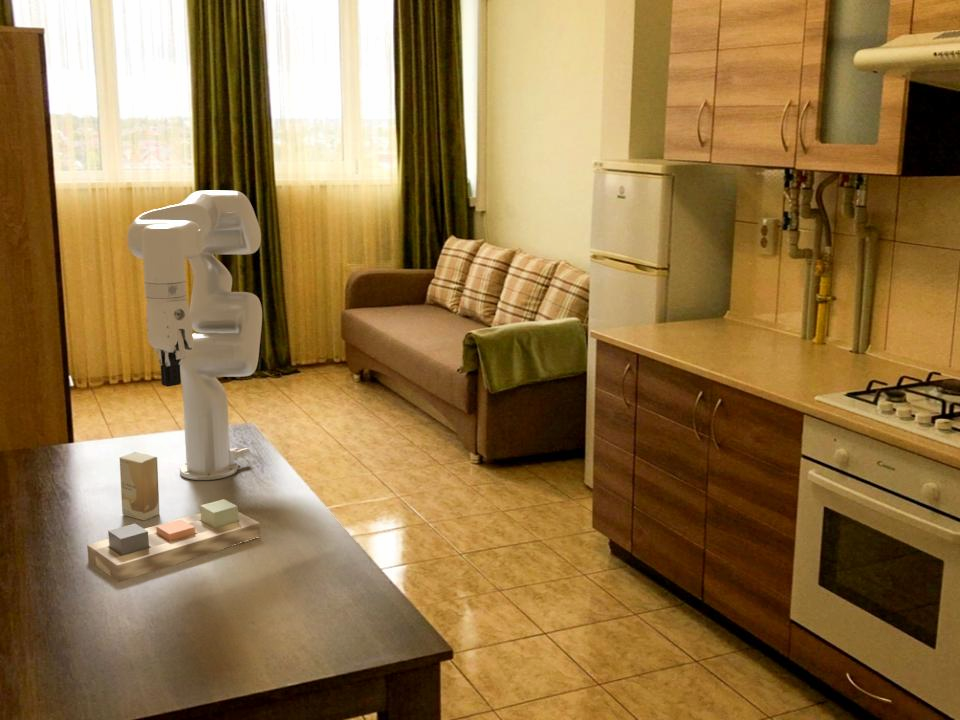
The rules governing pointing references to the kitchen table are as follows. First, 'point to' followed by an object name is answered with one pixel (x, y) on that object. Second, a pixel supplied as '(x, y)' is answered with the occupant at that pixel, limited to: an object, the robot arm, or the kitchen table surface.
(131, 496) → the skincare box
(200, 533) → the board
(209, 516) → the sage key
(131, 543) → the charcoal key
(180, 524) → the terracotta key
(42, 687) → the kitchen table surface
